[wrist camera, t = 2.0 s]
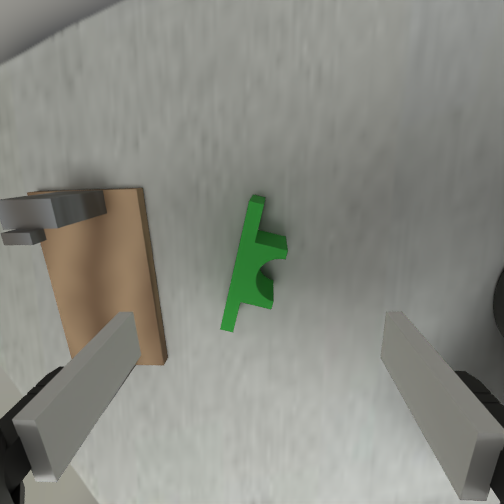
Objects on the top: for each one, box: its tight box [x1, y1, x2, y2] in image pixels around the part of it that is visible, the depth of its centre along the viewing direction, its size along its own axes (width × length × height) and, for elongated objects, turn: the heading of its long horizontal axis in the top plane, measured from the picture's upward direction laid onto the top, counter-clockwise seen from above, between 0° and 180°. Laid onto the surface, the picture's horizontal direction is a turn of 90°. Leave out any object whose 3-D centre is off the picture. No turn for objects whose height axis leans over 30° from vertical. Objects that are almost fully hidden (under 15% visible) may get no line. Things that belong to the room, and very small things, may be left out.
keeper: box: [0, 188, 168, 411], centre depth 24 cm, size 10×18×8 cm, turn 2°
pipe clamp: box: [220, 195, 288, 332], centre depth 24 cm, size 11×4×5 cm, turn 167°
